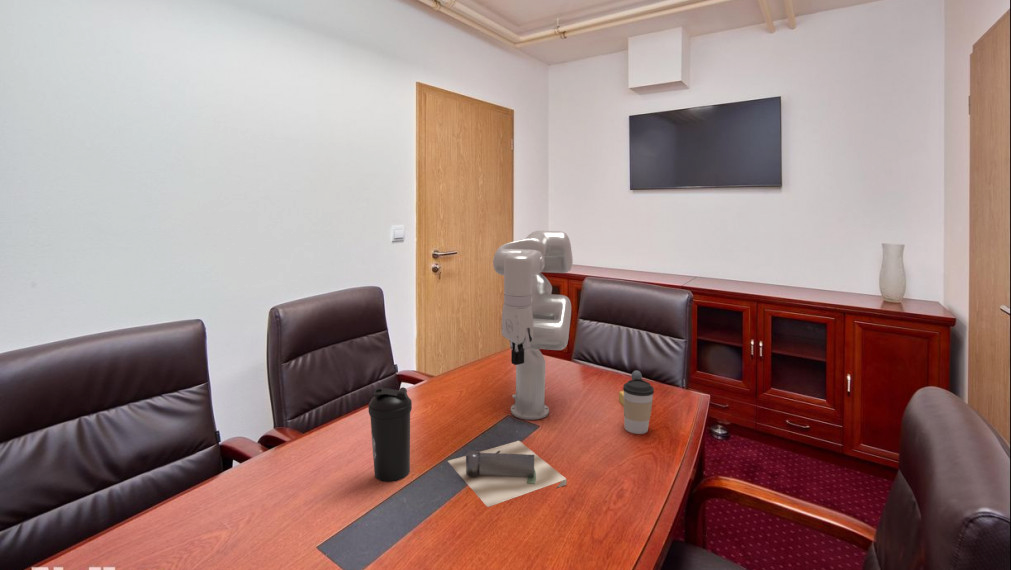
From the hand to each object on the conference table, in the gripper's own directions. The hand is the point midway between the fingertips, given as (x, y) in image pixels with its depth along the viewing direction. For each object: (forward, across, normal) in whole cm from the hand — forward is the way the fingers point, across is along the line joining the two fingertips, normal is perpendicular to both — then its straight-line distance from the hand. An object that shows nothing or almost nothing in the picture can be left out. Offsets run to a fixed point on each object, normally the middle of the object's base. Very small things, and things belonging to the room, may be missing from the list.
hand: (517, 363), depth 131 cm
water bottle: (+23, +1, -37) cm, 44 cm away
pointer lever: (+21, +15, -14) cm, 29 cm away
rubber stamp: (+27, -3, +50) cm, 57 cm away
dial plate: (+23, +14, -12) cm, 29 cm away
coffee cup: (+25, +11, +36) cm, 45 cm away
